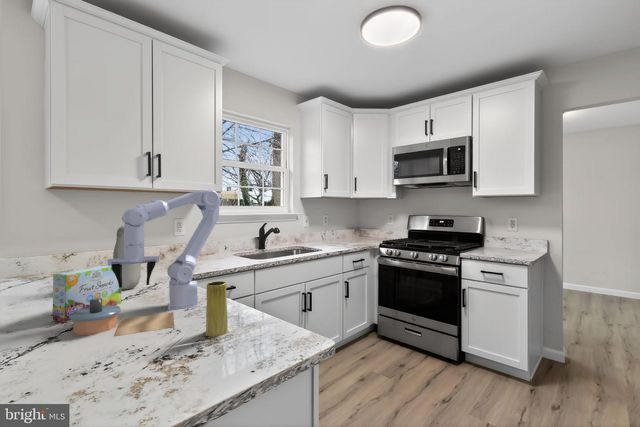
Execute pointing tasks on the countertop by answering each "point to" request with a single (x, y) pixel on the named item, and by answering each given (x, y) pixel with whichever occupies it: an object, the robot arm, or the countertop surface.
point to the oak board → (145, 324)
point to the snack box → (83, 290)
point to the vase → (216, 309)
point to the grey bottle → (129, 271)
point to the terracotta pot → (94, 326)
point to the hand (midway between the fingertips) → (134, 285)
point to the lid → (95, 311)
